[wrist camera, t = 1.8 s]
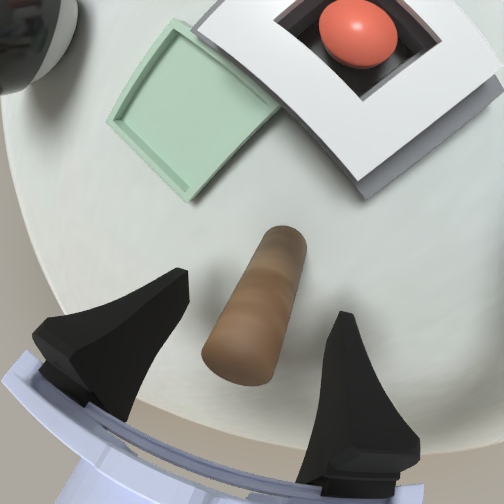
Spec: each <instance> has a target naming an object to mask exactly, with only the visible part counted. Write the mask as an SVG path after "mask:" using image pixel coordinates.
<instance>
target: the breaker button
mask: <svg viewBox="0 0 504 504" xmlns="http://www.w3.org/2000/svg"><path fill="white" fill-rule="evenodd" d="M319 30H320V35H321V39H322V42H323V45H324V47H325V49H326V51H327V52H328V53H329V54H330V55H331V56H332V57H333V58H334V59H335V60H336V61H338V62H339V63H341V64H343V65H345V66H347V67H351V68H355V69H369V68H373V67H376V66H378V65H380V64H381V63H382V62H384V61H385V60H386V59H387V58H388V57H389V56H390V55H391V54H392V53H393V52H394V50H395V48H396V45H397V30H396V27H395V25H394V23H393V21H392V20H391V18H390V17H389V16H388V14H387V13H386V12H385V11H383V10H382V9H381V8H380V7H378V6H376V5H375V4H373V3H371V2H368V1H365V0H337V1H335V2H333V3H331V4H330V5H328V6H327V7H326V8H325V9H324V11H323V12H322V14H321V16H320V20H319Z"/></svg>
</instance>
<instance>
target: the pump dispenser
mask: <svg viewBox="0 0 504 504" xmlns="http://www.w3.org/2000/svg"><path fill="white" fill-rule="evenodd" d="M77 18H78V5H77V1H76V0H0V96H2V95H8V94H12V93H16V92H19V91H21V90H23V89H25V88H26V87H27V86H28V85H29V84H31V83H33V82H35V81H37V80H38V79H40V78H41V77H43V76H44V75H45V74H47V73H48V72H49V71H50V70H51V69H52V68H53V67H54V66H55V65H56V64H57V63H58V61H59V60H60V59H61V57H62V56H63V55H64V53H65V51H66V50H67V48H68V46H69V44H70V42H71V40H72V37H73V34H74V31H75V28H76V24H77Z"/></svg>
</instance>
